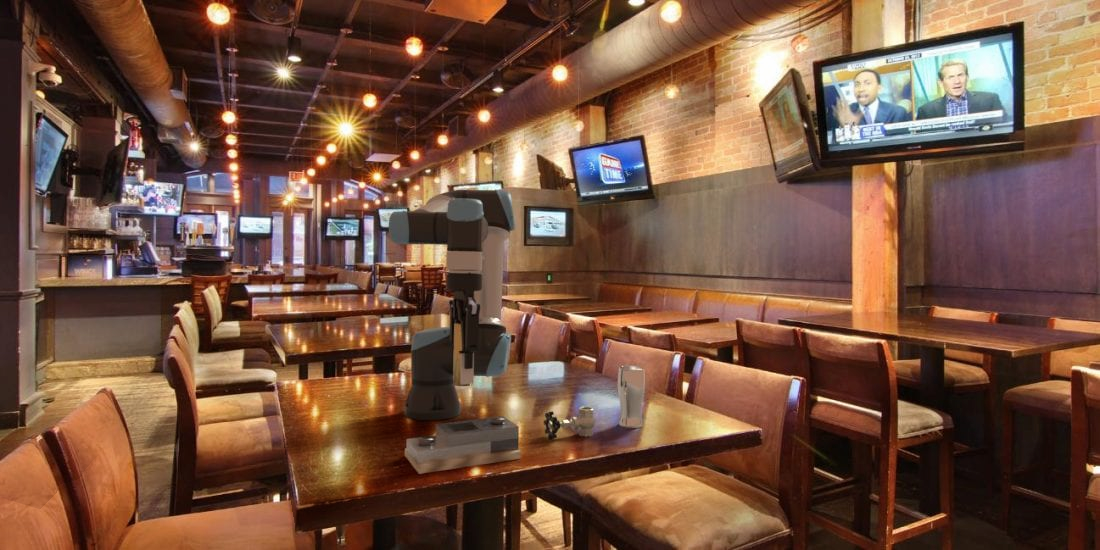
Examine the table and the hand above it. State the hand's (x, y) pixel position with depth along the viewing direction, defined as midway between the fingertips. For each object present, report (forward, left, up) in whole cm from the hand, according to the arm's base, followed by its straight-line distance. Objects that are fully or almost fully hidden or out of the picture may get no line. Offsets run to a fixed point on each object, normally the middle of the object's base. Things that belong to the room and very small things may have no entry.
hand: (463, 381), depth 127 cm
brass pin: (0, 0, -1) cm, 1 cm away
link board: (0, 0, -16) cm, 16 cm away
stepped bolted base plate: (0, 0, -15) cm, 15 cm away
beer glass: (+26, +40, -17) cm, 51 cm away
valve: (+16, +24, -17) cm, 33 cm away
